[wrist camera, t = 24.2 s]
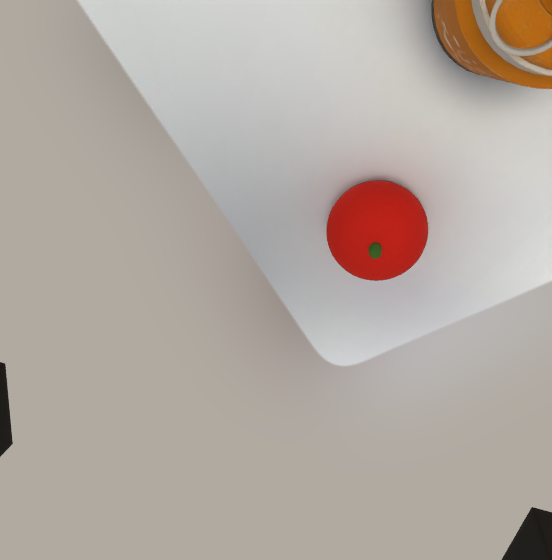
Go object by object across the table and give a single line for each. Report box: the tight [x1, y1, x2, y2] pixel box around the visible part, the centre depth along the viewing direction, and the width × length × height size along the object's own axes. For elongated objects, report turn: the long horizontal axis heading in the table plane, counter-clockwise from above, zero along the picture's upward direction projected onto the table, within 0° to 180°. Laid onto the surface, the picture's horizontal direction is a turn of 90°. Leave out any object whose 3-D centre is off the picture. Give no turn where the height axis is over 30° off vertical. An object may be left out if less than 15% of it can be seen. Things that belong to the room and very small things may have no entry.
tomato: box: [327, 180, 428, 281], centre depth 35 cm, size 7×7×8 cm
